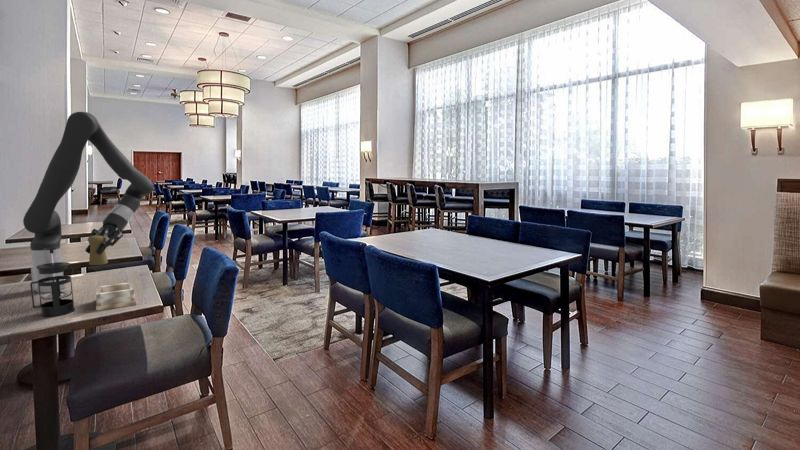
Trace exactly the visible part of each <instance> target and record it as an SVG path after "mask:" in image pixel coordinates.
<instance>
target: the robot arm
mask: <svg viewBox="0 0 800 450" xmlns="http://www.w3.org/2000/svg"><path fill="white" fill-rule="evenodd" d="M64 128H65V129H64V131H63V134H62V138H61V140H60V143H59V145H58V147H57V148H56V150H55V151H54V154H53V156H52V158H51V160H50V161H49V164H48V166H47V168H46V170H45V173H44V176H43V179H42V180H41V183H40V185H39V187H38V190H37V193H36V195H35V197H34V199H33V201H32V203H30V205H29V208H28V209H27V211H26V212H25V214H24V216H23V220H22V223H23V227H24V229H26V231H28V232H29V233H32V234H34V237H33V239H32V240H31V241H30V245H29V246H30V253H31V254H30V255H31V262H32V263H31V264H32V267H31V268H30V273H31V274H30V275H31V282H35V281H38V280H40V279H43V278H47V277H53V276H54V274H39V273H38V269H37V268H36V267H37V266H39V265H43V264H48V263H52V256H51V254H50V250H43V249H45V248H49V247H58V248H59V249H55V250H53V252H54V253H53V262H54V263H57V262H63V259H62V249H61V241H62V235H63V234H62V221H61V220H62V219H61V217H60V215H59V213H58V212H57V211H56V208H57V204H58V203H59V201H60V200H61V199H62V197H63V196H64V195H65V194H67V192H68V191H69V190H70V189H71V187H72V185H73V184H74V182H75V180H76V178H77V175H78V173H79V170H80V167H81V161H82V156H83V152H84V149H85V146H86V144H87V142H88V141H89V142H90V143H91V144H92V145H93V146H94V147H95V149H97V151H98V152H99V154H100V155H101V156H102V158H103V159H104V161H105V163H106V164H107V165H108V166H109V167H110V168H111V170H112V171H113V172H114V173H115V174H116V175H117V176H118V177H119V178H120V179H121V180H126V181H128V182H129V183H130V184H129V186H128V187H127V188H126V190H125V191H124V193H123V196H122V197H121V198H120V200H119V201H118V202H117V204H116V205H115V206H114V207H113V208H112V209H111V210H110V211H109V213H108V214H107V216H106V217H105V218H104V220H102V226H101V227H100V228H99V229H96V228H93V229H92V230H91V232H90V234H89V236H88V238H87V240H88V239H89V237H90V236H94V235H101V236H103V237H104V241H103V242H102V244H100V246H99V247H98V248H97V250H96V253H97V254H99V255H101V254H102V253H103V252H104V250H105V251H106V249H107V248H109V247H114V246H115V244H116V243H117V242H118V241H119V240H121V238H123V237H124V234H123V233H122V232H123V231H124V229H126V226H127V225H128V224H129V222H130V221H131V219H132V218H133V216H134V214H135V213H136V212H137V210H138V209H139V208H140V206H141V201H142V199H143V198H144V197H145V196H147V195H150V194H151V193H153V191H154V184H153V182H152V181H151V179H150V178H149V177H148V176H146V175H145V174H144V173H143V172H141V171H140V170H138V169H137V168H136V167H135V166H134V165H133V163H132V162H131V161H130V160H129V159H128V158H127V157H126V156H125V155H124V153H123V152H122V151H121V150H120V149H119V148H118V147H117V146H116V145H115V143H113V142H112V140H111V138H110V137H109V136H108V135H107V133H106V132H105V129H103V127H102V125H101V124H100V122H99V121H98V119H97V118H96V116H94V115H93V114H92V113H90V112H87V111H75V112H73V113H71V114H70V115H69V116H68V118H67V120H66V124H65V127H64ZM84 251H85V252H86V253H87V254H90V244H89V243H88V246H87V247H86V248H85V250H84ZM55 276H65V275H64V272H61V273H55ZM62 280H65V279H59V281H62ZM46 282H53V280H51V281H46ZM32 286H33V292H36V293H39V288H38V283H34V284H32ZM65 287H66V286H65V284H61V285H60V291H62V290H64V289H65ZM41 293H43V294H45V293H52V290H51V286H40V294H41Z"/></svg>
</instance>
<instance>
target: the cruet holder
mask: <svg viewBox="0 0 800 450" xmlns="http://www.w3.org/2000/svg"><path fill="white" fill-rule="evenodd" d="M95 291H96V292H95V298H96V299H95V300H96V304H95V311H103V310H109V309H116V308H124V307H131V306H135V305H137V301H136V296H135V295H136V294H135V288H134V284H133V281H132V282H124V283H115V284H108V285H100V286H96V290H95Z"/></svg>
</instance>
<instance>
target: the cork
mask: <svg viewBox="0 0 800 450" xmlns="http://www.w3.org/2000/svg"><path fill="white" fill-rule="evenodd" d="M89 236H90V235H89ZM89 236H88V238H89V239H88V238H87V242H88V245H89V244H90V253H89V261H88V265H90V266H100V265H106V264H108V263H109V262H108V258H107V257H108V256H107V253H106V249H105V250H104V252H103V253H102V254H101V255H99V254H97V253H96V250H97V248H98V247H99V246H100V244H102V242H103V241H104V237H103V236H101V235H94V236H90V237H89Z"/></svg>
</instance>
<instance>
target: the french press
mask: <svg viewBox="0 0 800 450" xmlns="http://www.w3.org/2000/svg"><path fill="white" fill-rule="evenodd" d="M55 249H59V248H58V247H49V248H45V249H43V250H50V254H51V256H52V263H48V264H43V265H39V266H37V267H36V268H37V269H38V273H39V274H54V276H53V277H47V278H43V279H40V280H38V281H35V282H32V281H31V282H30V284H29V285H30V286H29V287H30V293H31V301H32V303H31V304H32V308H33V309H37V308H40V316H41V317H43V318H52V317H53V318H54V317H60V316H64V315H69V314H71V313H73V312H75V311H76V307H75V303H74V302H75V301H74V294H73V293H74V292H73V284H72V283H73V282H72V276H71V275H64V276H55V273H61V272H63V273H64V272H65V271H66V270H67V269H68V266H70V265H71V264H70V262H68V261H67V262H65V261H64V262H63V261H62V262H57V263H54V262H53V253H54V252H53V250H55ZM59 279H64V280H62V281H59ZM51 280H53V282H46V281H51ZM34 283H38V288H39V292H38V295H39V302H40V303H39V305H35V297H34V291H33V284H34ZM68 283H70V289H71V290H60V285H61V284H64V285H65V284H68ZM40 286H51V290H52V292H46V293H43V294H42V295H41V293H40ZM70 296H71V298H68V297H70ZM63 298H64V299H63ZM42 300H44V301H45V300H46V301H47V302H44V303H43V302H42Z"/></svg>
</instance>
